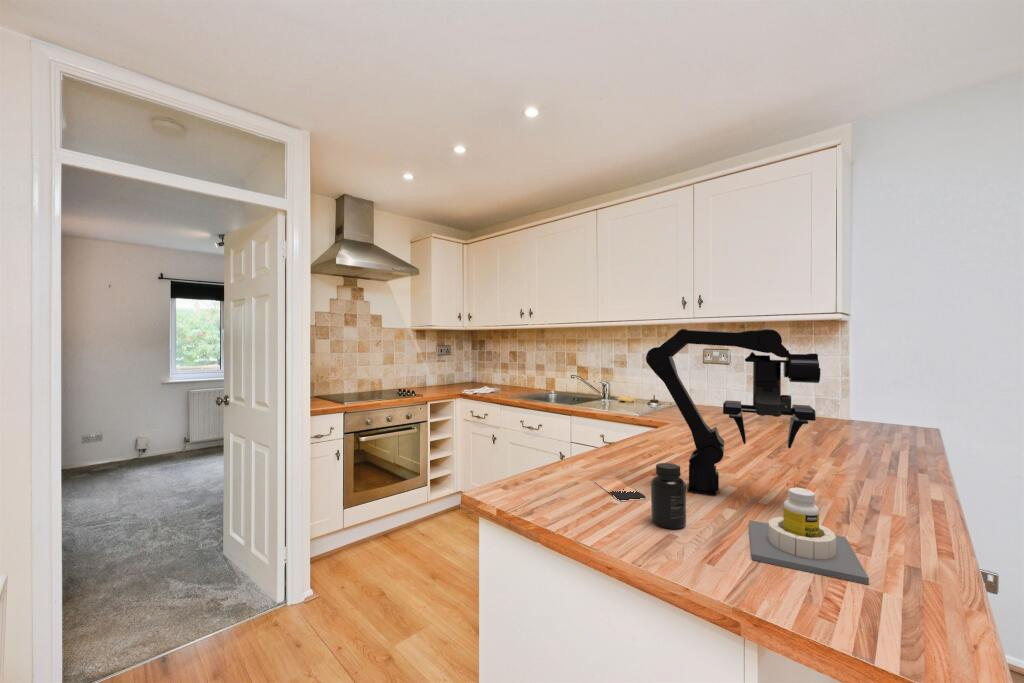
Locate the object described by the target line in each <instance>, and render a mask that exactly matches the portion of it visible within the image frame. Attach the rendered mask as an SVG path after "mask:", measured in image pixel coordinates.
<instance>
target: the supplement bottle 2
mask: <svg viewBox="0 0 1024 683" xmlns="http://www.w3.org/2000/svg"><path fill="white" fill-rule="evenodd" d="M787 491H788V492H787V494H788V499H786V500H785V501H784V503H783V515H782V516H783V530H785V531H786V532H789V533H792V534H795V535H798V536H804V537H809V538H819V524H820V509H819V507H818V506H817V505H816V504H814V503H815V502H816V494H815V492H813V491H812V490H809V489H806V488H799V487H791V488H788V490H787Z"/></svg>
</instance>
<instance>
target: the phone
mask: <svg viewBox="0 0 1024 683" xmlns="http://www.w3.org/2000/svg"><path fill="white" fill-rule="evenodd" d="M623 490H624V489H623ZM637 491H638V490H637ZM637 491H636V492H635V493H634V491H633V492H631V491H630V492H627V493H626V491H624V492H623V491H622V493H621V491H619V492H618V491H617V492H616V491H615V492H614V491H612V492H610V493H611V494H612V495H614V496H615V497H616V498H617V499H619V500H629V499H640V498H645V499H646V495H645V494H643V493H641V492H640V491H638V492H637Z"/></svg>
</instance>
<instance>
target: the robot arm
mask: <svg viewBox="0 0 1024 683" xmlns="http://www.w3.org/2000/svg"><path fill="white" fill-rule="evenodd" d="M782 342H783V339H782V337H781V334H780V333H779V332H778V331H777V330H775V329H771V328H764V329H763V328H762V329H754V330H751V329H750V330H746V331H745V330H744V331H721V330H720V331H718V330H697V329H696V330H695V329H687V328H682V329H681V328H680V329H679V330H677V332H676V333H675V334H674V335H673V336H671V337H670V338H668V339H667V340H666V341H665V342H664V343H661V345H659V346H657V347H653V348H651V349H649V350H648V352H647V353H646V356H645V361H646V364H647V365H648V366H649V368H650V369H651V370H652V371H653V373H654V374H655V375H656V376H657V377H658V378H659V379H660V380H661V381H662V382H663V384H665V387H666V389H667V390H668V393H669V394H670V395H671V397H672V399H673V402H674V403H675V404H676V407H677V409H678V410H679V412H680V414H681V415H682V417H683V419H684V420H685V423H686V425H687V426H688V427H689V430H690V431H691V436H692V439H693V442H694V445H695V450H694V451H692V452H691V455H690V456H689V459H688V463H689V464H688V486H687V492H690V493H691V492H692V493H697V494H703V495H710V496H716V495H717V492H719V489H720V486H719V485H720V484H719V483H720V481H719V480H720V476H719V475H720V473H719V472H718V471H717V465H715V464H718V463H720V462H721V461H722V460H723V458H724V453H725V439H724V438H722V437H721V434H719V431H718V428H717V426H715V427H713V428H710V426H709V425H708V424H707V423H706V422H705V420H704V419H703V416H702V415H701V413H700V411H699V410H698V408H697V407H696V405H695V404H696V403H694V400H693V399H692V398H691V396H690V394H689V392H688V390H687V388H686V387H685V385H684V384H683V381H682V380H681V378H680V377H679V374H678V370H677V365H676V363H675V361H674V356H675V355H676V354H677V353H679V352H680V351H681V350H682V349H683V348H685V347H686V346H687V345H688V344H689V345H705V346H706V345H707V346H720V347H723V346H725V347H735V348H736V347H738V348H742V349H745V350H750V351H751V352H750V354H749V355H748V356H747V357H746V358H744V361H745V362H747V363H748V362H749V363H752V366H753V367H752V371H753V372H752V380H753V381H752V405H751V404H742V401H741V400H740V401H739V400H728V399H727V400H725V401H724V402H723V403H722V414H723V415H728V418H730V419H733V420H734V422H735V424H736V427H737V428H738V431H739V434H740V437H741V440H742V443H743V445H746V441H747V440H746V431H745V425H744V424H745V423H744V417H743V413H751V414H752V413H753V414H756V415H758V416H761V417H762V416H763V417H765V416H768V417H769V416H770V417H771V416H772V417H774V418H779V417H781V416H790V417H789V419H790V420H789V426H788V435H787V436H788V437H787V448H788V449H791V448H792V446H793V443H794V441H795V439H796V436H797V433H798V432H799V430H800V428H801V427H802V426H803V425H807V424H809V421H812V422H815V421H816V416H817V415H816V410H815V409H814V408H813V407H812V406H810V405H806V404H792V396H791V395H790V394H788V395H787V394H782V393H781V391H782V389H781V388H782V384H781V380H782V369H781V368H782V364H783V378H785V379H786V378H787V379H788V381H789V383H805V384H808V383H810V384H820V381H821V368H820V362H819V354H818V353H805V354H804V353H803V354H802V353H790V350H789V349H787V348H786V347H785V345H783V344H782ZM753 351H754V352H755V351H756V352H760V353H764V354H767V355H763V354H762V355H760V354H759V355H758V354H755V353H754V352H753ZM768 354H773V355H774V356H776V357H779V358H783V359H771V356H770V355H768ZM784 358H786V359H784Z"/></svg>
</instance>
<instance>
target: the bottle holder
mask: <svg viewBox="0 0 1024 683" xmlns="http://www.w3.org/2000/svg"><path fill="white" fill-rule="evenodd" d="M748 526H749V538H750V539H749V540H750V542H749V543H750V553H751V560H752V561H756V562H761V563H765V564H771V565H775V566H779V567H783V568H789V569H793V570H799V571H804V572H807V573H813V574H817V575H823V576H827V577H832V578H836V579H840V580H844V581H845V580H846V581H851V582H856V583H860V584H863V585H864V584H865V585H870V577H869V576H868V574H867V572H866V571H865V569H864V567H863V565H862V564H861V561H860V560H859V558H858V556H857V555H856V553H855V552H854V550H853V548H852V546H851V544H850V543H849V540H848V538H846V536H841V535H838V534H835V532H834V531H833V530H832V529H829V528H828V527H826V526H824V525H822V524H820V523H819V538H809V537H804V536H798V535H795V534H792V533H789V532H786V531H785V530H783V517H782V516H781V517H780V516H778V517H777V516H776V517H772V518H771V519H769V520H768V523H767V522H763V521H757V520H750V519H749V521H748Z"/></svg>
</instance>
